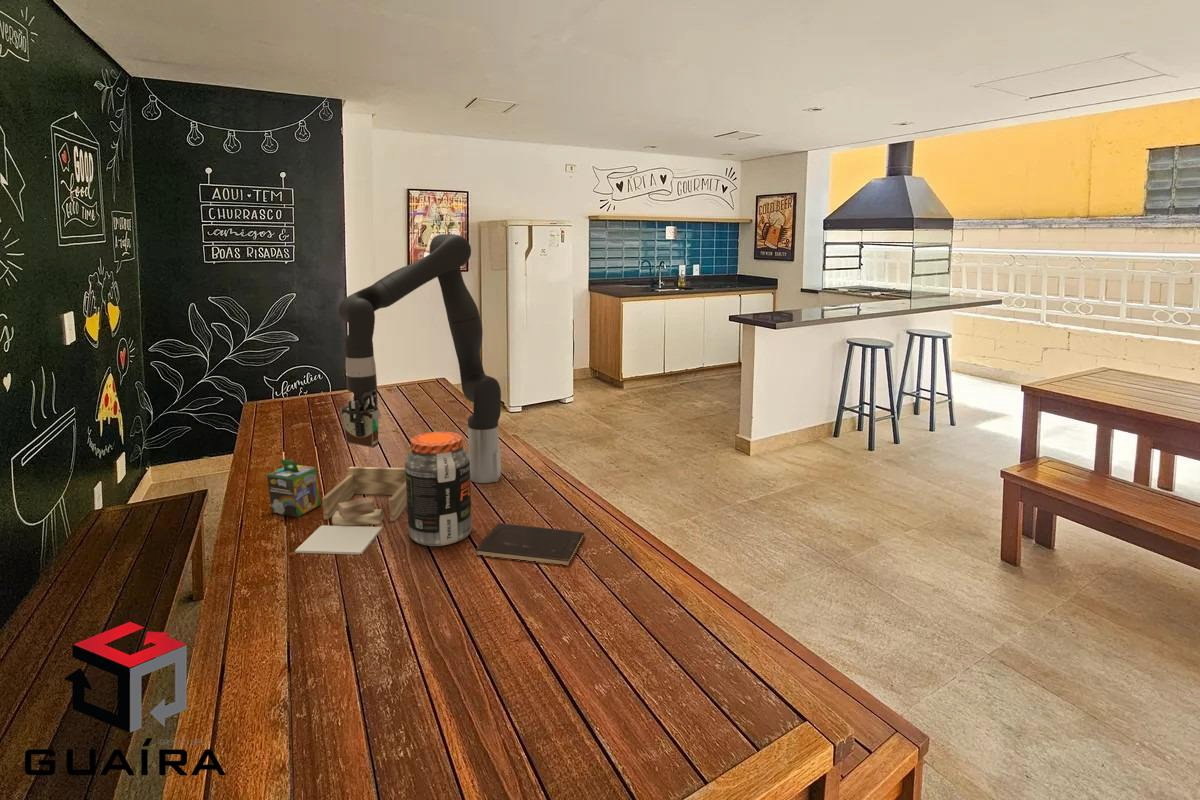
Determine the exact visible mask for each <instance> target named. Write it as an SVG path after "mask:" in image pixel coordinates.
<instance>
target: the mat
mask: <svg viewBox="0 0 1200 800" xmlns="http://www.w3.org/2000/svg"><path fill="white" fill-rule="evenodd" d="M382 530H383V527H382V526H360V525H349V526H333V525H323V524H322V525H320V526H319V527H318V528H317V529H315V530H314V532H313V533H312V534H310V535H309V536H308V537H307V538H306V540H304V541H303V542H302V544H300V545H299V546H298V547H297V548H296V549H295V550H294V552H295V554H320V555H321V554H324V555H325V554H326V555H327V554H328V555H329V554H330V555H331V554H332V555H355V556H356V555H358V556H360V554H361V555H362V554H363V553H364V552H365V551H366V550H367V548H368V547H369V546H370V545H371V544H372V542H374V540H375V538H377V536H378V535H379V534H380V532H381V531H382Z"/></svg>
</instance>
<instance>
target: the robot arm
mask: <svg viewBox="0 0 1200 800" xmlns="http://www.w3.org/2000/svg"><path fill="white" fill-rule="evenodd" d="M428 251H429V254H427V255H426V256H424V257H422V258H420V259H419V260H417V261H415V262H413V263H410V264H408V265H405V266H402V267H401V268H400V267H399V268H398V269H396V270H394V271H392V272H390V273H388V274H387V275H385V276H384V277H382V278H381V279H379V280H377V281H376V282H374V283H373V284H372V285H369V286H367V287H364V288H363V289H360V290H358V291H356V292H353V293H352V294H350V295H348V296H346V297H345V298H344V299H343V300H342V301H341V302H340V303H339V306H338V315H339V317H341V319H342V320H343V321H345V322H346V323H348V329H347V330H348V332H347V335H346V336H345V339H344V350H345V351H344V353H345V375H346V387H347V391H348V392H350V393H353V400H349V401H348V402H347V403H348V405H347V406H349V415H350V422H351V423H355V432H356V436H357V437H363V436H365V429H364V414H366V413H367V409H369V408H373V405H374V406H377V407H378V391H377V389H378V381H377V367H376V361H375V355H374V353H375V351H374V342H373V340H374V339H373V337H374V332H375V323H376V321H375V320H376V314H375V312H376V311H378V310H380V309H385V308H387V307H391V306H393V305H394V304H395V303H397V302H398V301H400V300H402V299H403V298H404V297H406V296H408V295H409V294H411V293H412V292H414V291H416V290H417V289H418V288H420V287H421V286H424V285H426V284H427V283H428V282H431V281H433V280H434V279H436V278H437V280H438V283H439V287H440V291H441V295H442V299H443V304H444V308H445V312H446V318H447V321H448V325H449V329H450V334H451V338H452V341H453V345H454V350H455V354H456V358H457V362H458V368H459V374H460V375H459V376H460V383H461V390H462V393H463V396H464V397H465V399H467V400H468V401H469V402H470V403H472V404H473V412H472V414H471V415H469V416H468V417H467V433H468V434H467V436H468V438H467V439H468V456H469V459H470V482H473V483H476V484H477V483H478V484H489V483H498V481H499V480H500V478H501V476H502V468H501V467H502V466H501V465H502V461H501V447H500V445H499V444H500V443H499V420H500V417H501V411H502V410H501V409H502V407H501V406H502V391H501V389H502V388H501V385H500V383H499V381H498V380H497V379H495V377H492V376H490V375H487V374H486V373H485V370H484V367H483V363H482V359H481V347H482V341H483V325H482V321H481V316H480V312H479V309H478V306H477V304H476V302H475V300H474V298H473V296H472V295H471V293H470V291H469V290H468V287H467V286H466V282H465V281H464V278H463V275H462V274H463V273H462V268H461V267H463V266H464V265H466V264H467V263H468V261H469V260H470V258H471V254H472V248H471V244H470V242H469V241H468V240H467V239H466V237H464V236H461V235H459V234H456V233H455V234H452V233H451V234H450V233H444V234H443V233H442V234H441V233H440V234H438V235H436V236H434V237H433V238H432V240H431V241H430V244H429V250H428ZM370 405H371V407H370ZM378 408H379V407H378ZM353 414H354V417H353Z"/></svg>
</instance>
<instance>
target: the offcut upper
mask: <svg viewBox="0 0 1200 800" xmlns="http://www.w3.org/2000/svg"><path fill="white" fill-rule="evenodd" d="M338 507H339V510H338V511H339V514H340V516H341V517H342V518H343V519H347V518H351V517H355V516H359V515H364V514H368V513H372V512H374V509H375V502H374V500H373V499H372V498H371V497H369V496H367V497H362V498H357V499H353V500H348V501H347V502H343V503H338Z"/></svg>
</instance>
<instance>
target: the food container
mask: <svg viewBox="0 0 1200 800" xmlns="http://www.w3.org/2000/svg"><path fill="white" fill-rule="evenodd" d="M370 407H371V405H370ZM339 415H341V420H342V424H343V425H342V426H343V430H344V431H343V432H344V436H345V443H346V444H351V445H356V446H361V447H367V448H372V449H373V448H375V447H377V446H378V445H379V419H380V418H381V417H382V414H381V411H380V409H379V407H377V406H374V405H373V408H369V409H367V413H366V414H364V429H365V436H363V437H357V436H356V432H355V423H351V422H350V415H349V406H348V405H344V406H340V409H339ZM353 417H354V414H353Z"/></svg>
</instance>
